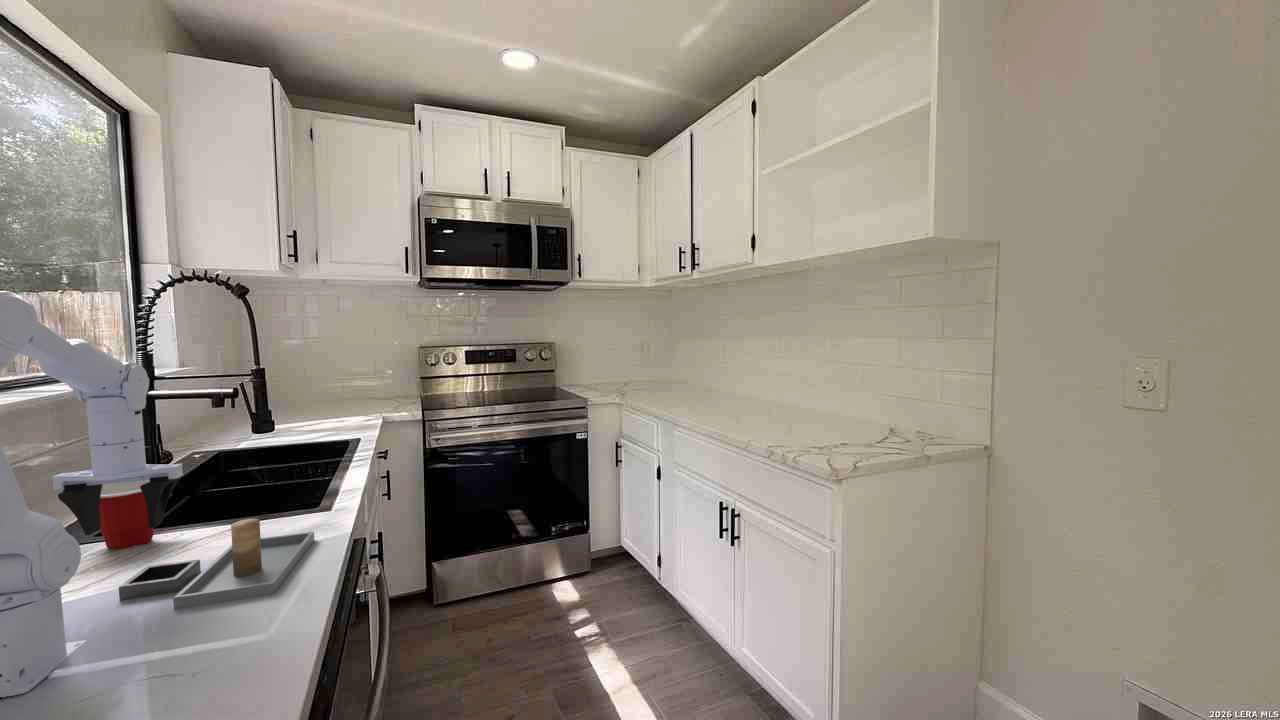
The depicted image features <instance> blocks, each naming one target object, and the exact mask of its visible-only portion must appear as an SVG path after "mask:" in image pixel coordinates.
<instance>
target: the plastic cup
mask: <svg viewBox="0 0 1280 720" xmlns="http://www.w3.org/2000/svg"><path fill="white" fill-rule="evenodd" d="M143 477H144V476H143ZM130 478H132V477H130ZM148 482H150V480H144V481H133V482H121V483H110V484H103V485H102V489H101V495H100V518H101V527H100V530H99V531H100V534H101V535H102V537H103V541H104V543H105V546H106V548H107V550H119V549H120V550H121V549H123V550H124V549H126V548H127V549H128V548H132V547H137V546H144V545H149V544H150V543H151V542H153V541H152V540H153V537H154V531H155V527H154V528H149V524H148V514H147V505H146V501H145V498H144V495H143V493H142V490H141V488H140V486H141V485H143V484H146V483H148Z"/></svg>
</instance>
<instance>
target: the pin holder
mask: <svg viewBox="0 0 1280 720" xmlns="http://www.w3.org/2000/svg"><path fill="white" fill-rule="evenodd" d="M200 573H201V560H200V559H193V560H184V561H178V562H176V561H175V562H170V563H164V564H163V563H162V564H156V565H147V566H145V567H144V568H143V569H141V570H140V571H138V572H137V573H136V574H134V575H133V576H131V578H129V579H128V580H126V581H125V582H123V583H122V584H121V585H119V586H118V594H119V595H118V596H119V601H120V602H121V601H127V600H134V599H141V598H148V597H155V596H160V595H169V594H175V593H179V592H180V591H181V590H183V589H184V588H185V587H186V586H187V585H188V584H189V583H190V582H191V581H193V580H194V579H195V578H196V577H197V576H198V575H199V574H200Z"/></svg>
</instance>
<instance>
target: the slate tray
mask: <svg viewBox="0 0 1280 720" xmlns="http://www.w3.org/2000/svg"><path fill="white" fill-rule="evenodd" d="M260 539H261V560H262V569H261V571H259V572H257V573H255V574H253V575H249V576H245V577H235V576H234V573H233V553H232V544H231V545H230V546H229V547H228V548H227V549H226V550H225V551H223V552H222V553H221V554H220V555H219V556H218V557H217V558H216V559H215V560H213V562H212V563H210V564H209V565H208V566H207V567H206V568H205V569H203V570H202V572H200V573H199V574H198V575H196V576H195V577H194V578H193V579H192V580H191V581H190V582H189V583H187V584H186V585H185V586H184V587H183V588H182V589H181V590H180V591H179V592H177V594H176V595H174V596H173V599H172V600H173V609H174V610H179V609H184V608H192V607H198V606H199V607H200V606H204V605H212V604H217V603H224V602H230V601H237V600H244V599H250V598H257V597H263V596H268V595H274V594H275V595H276V593H277V591H278V590H279V589H280V588H281V586H282V585H283V583H284V582H285V581H286V580H287V578H288V577H289V576H290V574H291V572H292V571H293V570H294V569H295V567H296V566H297V564H298V563H299V562H300V561H301V559H302V558H303V556H304V555H305V554H306V552H307V551H308V550H309V548H310V547H311V546H312V545H313V543H314V542H315V531H309V532H308V531H307V532H302V533H300V532H299V533H292V534H284V535H277V536H270V537H269V536H267V537H260Z"/></svg>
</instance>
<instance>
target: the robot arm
mask: <svg viewBox="0 0 1280 720" xmlns="http://www.w3.org/2000/svg"><path fill="white" fill-rule="evenodd" d="M38 317H39V316H38V314H37V309H36V307H35V305H34V304H33V303H31V302H28V301H26V300H25V299H23V297H22V296H20V295H19V294H16V293H14V292H11V291H3V290H2V291H1V290H0V374H1V373H2V372H3V371H4V369H6V368H7V367H8V366H9V364H10V363H11V362H12V361H13V360H14V359H15V358H16V357H17V355H18V354H19V355H23V356H25V357H27V358H30V359H33V360H35V361H38V362H39V367H40V369H41V371H42V372H43V373H44V374H45V375H46V376H49V377H51V378H53V379H55V380H57V381H59V382H62V383H64V384H66V385H68V388H70V389H72V391H73V394H74V396H75V397H76V398H77V399H78V400H79V401H80V402H82V401H84V402H85V403H86V404H85V405H86V416H87V425H88V437H89V438H88V439H89V449H90V460H91V461H90V462H91V469H90V470H89V469H88V470H87V469H86V470H81V471H72V472H62V473H59V474H56V475H54V476H52V484H53V490H62V489H63V490H62V492H60V493H58V494H57V498H58V500H59V501H60V502H62V503H63V505H65V506H66V507H67V509H69V510H70V511H71V512H72V513H73V515H74V517H76V519H77V520H78V523H79V525H80V527H81V528H82V530H83V533H84V535H85V536H88V535H89V536H91V535H92V534H94V533H96V532H99V531H100V527H101V518H100V495H101V489H102V485H103V484H110V483H121V482H133V481H144V480H150V482H148V483H146V484H143V485H141V486H140V488H141V490H142V493H143V495H144V498H145V501H146V505H147V514H148V524H149V528H154V529H155V528H157V527H158V526H161V525H162V524H163V522H164V516H165V512H166V507H167V504H168V502H169V499H170V497H171V495H172V492H173V490H174V489H175V487H176V485H177V483H178V481H179V479H180V477H183V476H184V472H183V463H170V464H166V463H165V464H164V463H163V464H159V463H158V464H151V463H149V464H147V460H146V450H145V449H146V447H145V446H146V445H145V435H144V433H145V432H144V422H143V410H144V409H146V405H147V399H146V398H147V393H148V391H149V387H150V377H149V376H148V373H147V370H146V369H145V368H144V367H143V366H142V365H139V364H137V363H135V362H134V361H129V362H128V361H123V362H122V361H121V360H120V359H118V358H116V357H114V355H111V354H110V353H107V352H106V351H104V350H102V349H100V348H99V347H97V346H95V345H93V342H92V341H91V340H89V339H88V338H73V339H72V338H71V339H66V338H64V337H63V336H61V335H60V334H59V333H57V332H55V331H54V330H53V329H51V328H50V327H49V326H47V325H46V324H44V323H43V322H41V321H40V320H39V318H38ZM142 409H143V410H142ZM143 476H144V477H143ZM130 477H132V478H130ZM81 557H82V550H81V546H80V544H79V542H78V541H77V539H76V538H75V537H74V536H72V535H71V534H69V532H68V531H66V528H65V527H64V525H63V521H61V520H59V519H57V518H53V517H52V516H48V515H45V514H41V513H39V512H36V511H33V510H31V509H29V507H28V505H27V503H26V500H25V497H24V496H23V493H22V490H21V487H20V486H19V484H18V481H17V478H16V477H15V473H14V471H13V469H12V467H11V464H10V462H9V460H8V458H7V455H6V453H5V450H4V448H3V445H2V443H1V442H0V697H2V698H7V696H8V697H12V696H18V695H23V694H25V693H28V692H30V691H31V690H32V689H33V688H34V687H36V686H37V685H38V684H39V683H41V682H42V681H43V680H45V679H46V678H47V677H48V676H49V675H51V674H52V673H53V672H55V670H56V669H54V668H56V667H58V665H59V664H60V663H62V662H63V661H64V660H66V659H67V658H68V657H69V656H70V655H72V654H73V653H75V651H76V650H78V649H79V648H80V647H82V646H84V644H85V643H86V642H87V640H86V639H85V640H76V641H72V642H71V641H70V642H66V633H65V620H64V613H63V612H64V609H63V601H62V589H61V588H63V587H64V586H65V585H67V584H68V583H69V581H70V580H71V579H73V577H74V576H75V575H76V572H77V571H78V568H79V566H80V562H81Z"/></svg>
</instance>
